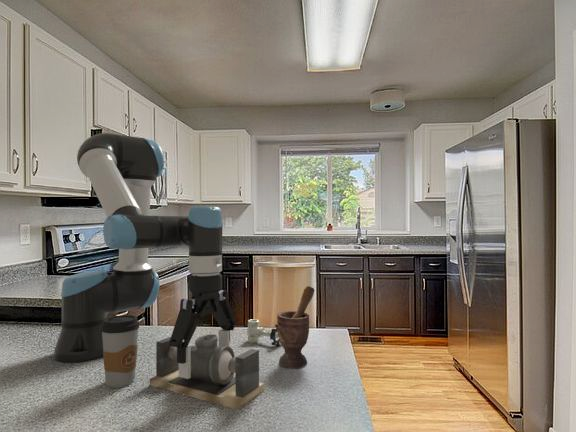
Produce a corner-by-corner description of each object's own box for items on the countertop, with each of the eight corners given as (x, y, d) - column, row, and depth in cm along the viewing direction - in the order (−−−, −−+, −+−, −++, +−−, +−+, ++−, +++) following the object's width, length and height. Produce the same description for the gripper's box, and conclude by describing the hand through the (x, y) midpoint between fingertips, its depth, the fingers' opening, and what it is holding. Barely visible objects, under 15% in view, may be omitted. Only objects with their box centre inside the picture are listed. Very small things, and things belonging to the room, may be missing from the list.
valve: (241, 342, 120) (272, 349, 113) (241, 321, 120) (272, 327, 114) (254, 337, 126) (284, 343, 119) (254, 317, 126) (284, 322, 119)
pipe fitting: (239, 374, 88) (233, 331, 88) (221, 391, 81) (214, 344, 81) (197, 373, 93) (190, 332, 93) (176, 389, 85) (169, 344, 85)
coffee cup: (114, 393, 84) (115, 325, 85) (93, 384, 89) (93, 320, 89) (146, 379, 91) (146, 317, 92) (125, 372, 96) (125, 313, 96)
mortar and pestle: (291, 353, 110) (290, 283, 110) (319, 357, 106) (318, 285, 106) (271, 366, 100) (271, 290, 100) (301, 372, 96) (301, 292, 96)
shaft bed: (149, 385, 88) (149, 344, 88) (180, 370, 97) (180, 333, 97) (237, 409, 77) (237, 361, 77) (263, 390, 85) (263, 347, 86)
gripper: (178, 282, 75) (178, 391, 74) (249, 268, 97) (249, 352, 96) (151, 279, 78) (151, 383, 78) (225, 267, 100) (225, 348, 100)
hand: (205, 366), depth 87 cm, fingers open, 13 cm apart
